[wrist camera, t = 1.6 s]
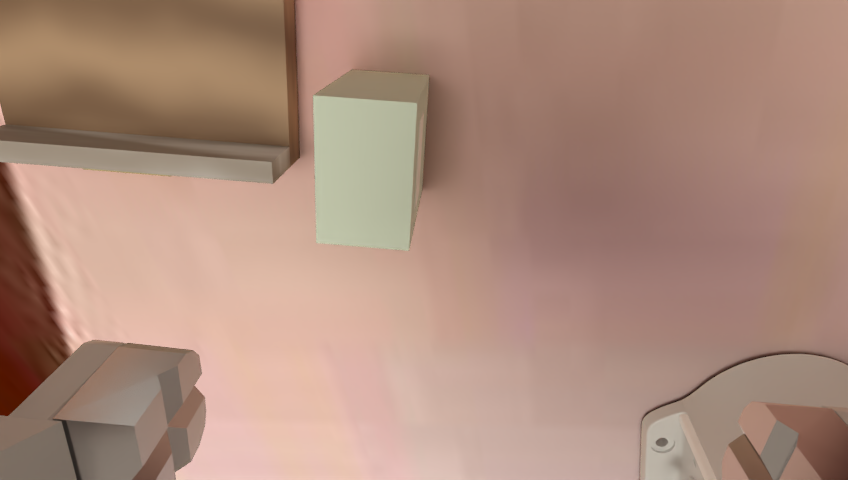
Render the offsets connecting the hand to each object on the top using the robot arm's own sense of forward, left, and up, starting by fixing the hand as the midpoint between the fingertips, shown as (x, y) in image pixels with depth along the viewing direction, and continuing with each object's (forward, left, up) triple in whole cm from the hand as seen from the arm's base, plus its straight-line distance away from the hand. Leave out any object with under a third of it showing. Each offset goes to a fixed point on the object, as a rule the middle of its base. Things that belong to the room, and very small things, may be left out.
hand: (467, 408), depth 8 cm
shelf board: (+4, +18, -26) cm, 32 cm away
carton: (-2, +4, -26) cm, 27 cm away
